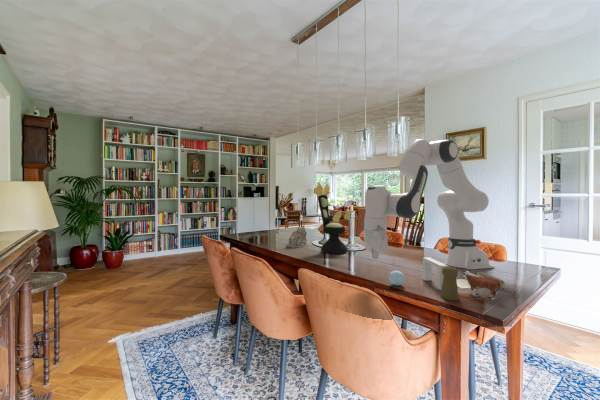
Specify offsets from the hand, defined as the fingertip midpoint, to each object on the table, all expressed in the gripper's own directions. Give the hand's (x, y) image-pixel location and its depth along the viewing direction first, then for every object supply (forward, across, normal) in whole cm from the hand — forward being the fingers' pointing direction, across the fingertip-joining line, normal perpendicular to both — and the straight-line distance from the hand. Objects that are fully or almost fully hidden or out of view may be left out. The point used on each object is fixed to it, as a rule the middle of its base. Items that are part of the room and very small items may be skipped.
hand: (374, 258), depth 125 cm
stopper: (+11, 0, -49) cm, 51 cm away
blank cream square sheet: (+11, 0, -39) cm, 41 cm away
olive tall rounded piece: (+11, -15, -23) cm, 30 cm away
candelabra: (+11, +70, +7) cm, 71 cm away
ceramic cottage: (+11, +95, +28) cm, 99 cm away
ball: (+8, 0, -9) cm, 12 cm away
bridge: (+11, 0, -25) cm, 28 cm away
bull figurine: (+11, -14, -35) cm, 40 cm away
